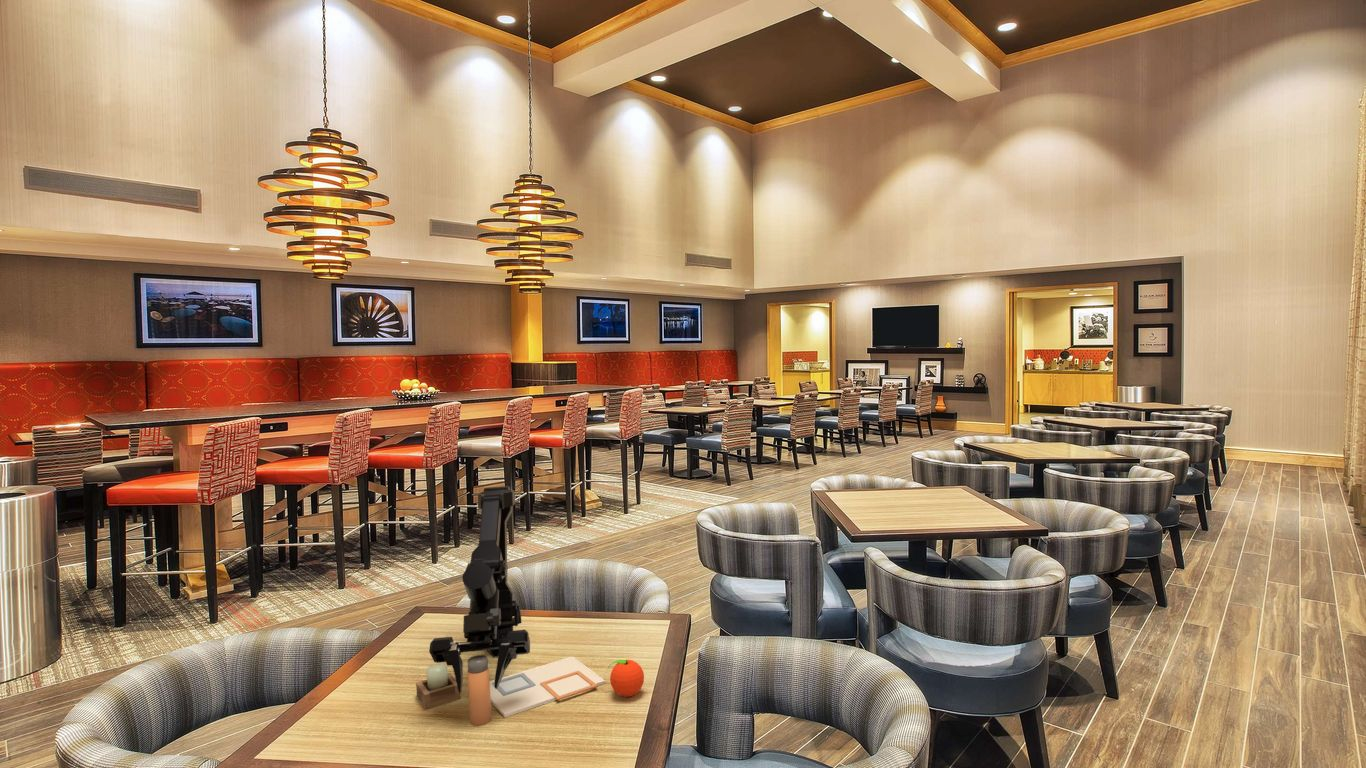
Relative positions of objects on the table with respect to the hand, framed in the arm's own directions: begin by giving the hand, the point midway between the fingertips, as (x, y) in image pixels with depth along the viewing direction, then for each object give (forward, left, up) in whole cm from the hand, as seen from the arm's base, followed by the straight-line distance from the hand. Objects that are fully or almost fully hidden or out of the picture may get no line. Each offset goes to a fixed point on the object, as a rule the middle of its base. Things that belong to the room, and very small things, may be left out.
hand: (477, 689), depth 130 cm
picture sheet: (-7, +16, -7) cm, 18 cm away
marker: (-1, +1, -7) cm, 7 cm away
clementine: (+8, +28, -7) cm, 30 cm away
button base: (-16, -3, -7) cm, 18 cm away
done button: (-16, -3, -4) cm, 17 cm away
